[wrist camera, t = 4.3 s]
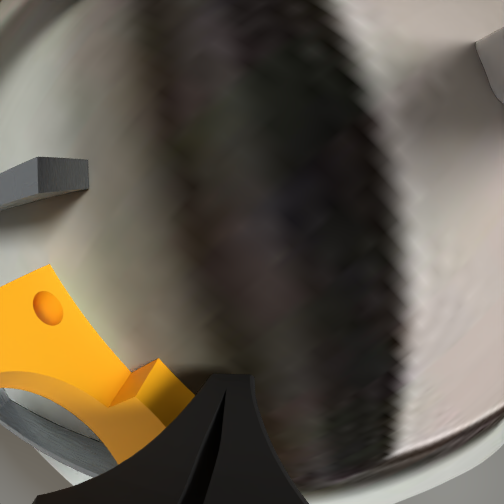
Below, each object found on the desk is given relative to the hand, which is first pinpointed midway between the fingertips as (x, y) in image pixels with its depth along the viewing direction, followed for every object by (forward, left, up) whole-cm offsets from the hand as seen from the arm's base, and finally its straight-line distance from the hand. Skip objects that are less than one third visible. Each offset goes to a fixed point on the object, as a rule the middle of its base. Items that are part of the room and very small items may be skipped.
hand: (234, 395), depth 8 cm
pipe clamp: (-1, +4, -1) cm, 5 cm away
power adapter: (+13, -13, -1) cm, 18 cm away
